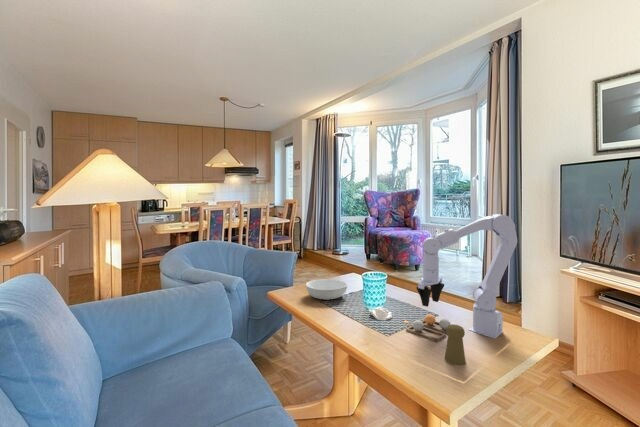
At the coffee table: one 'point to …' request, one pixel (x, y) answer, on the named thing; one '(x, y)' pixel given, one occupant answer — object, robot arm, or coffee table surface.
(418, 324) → the grey ball
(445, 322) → the grey ball
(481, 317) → the robot arm
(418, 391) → the coffee table surface
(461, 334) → the olive knobbed tapered post
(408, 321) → the card
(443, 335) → the trough
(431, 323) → the ball terracotta
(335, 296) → the serving bowl
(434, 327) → the trough
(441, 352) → the coffee table surface
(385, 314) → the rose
